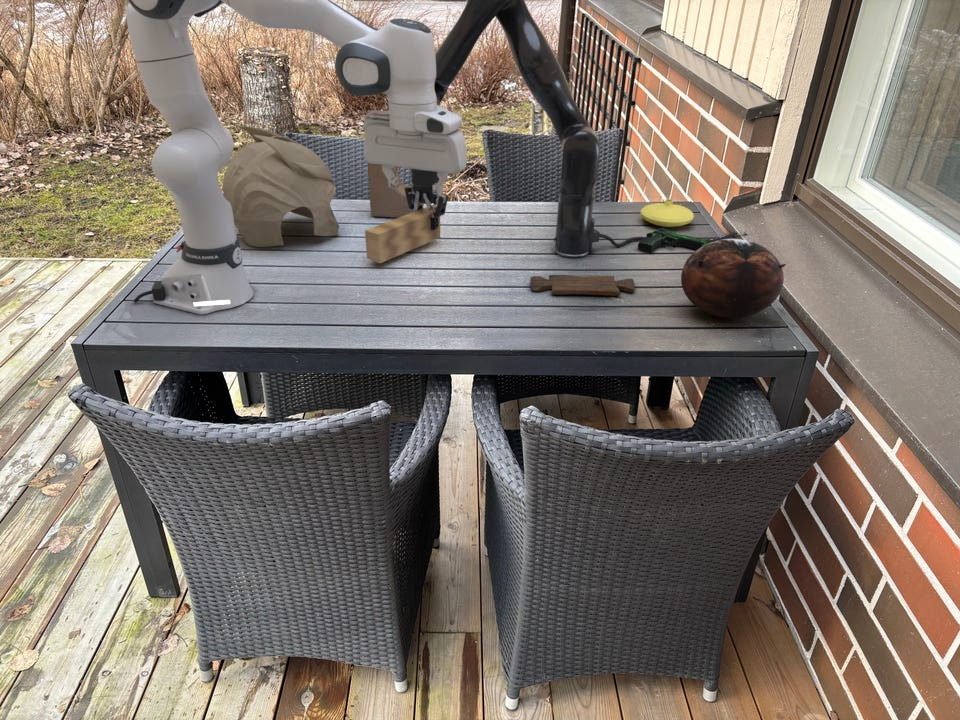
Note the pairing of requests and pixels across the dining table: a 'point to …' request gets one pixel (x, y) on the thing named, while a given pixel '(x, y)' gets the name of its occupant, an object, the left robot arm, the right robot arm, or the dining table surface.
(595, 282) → the dark wooden board
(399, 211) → the decorative block
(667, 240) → the handgun
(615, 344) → the dining table surface
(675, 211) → the yellow knobbed lid
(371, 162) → the left robot arm
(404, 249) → the bar
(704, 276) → the brown coconut
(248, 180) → the helmet
